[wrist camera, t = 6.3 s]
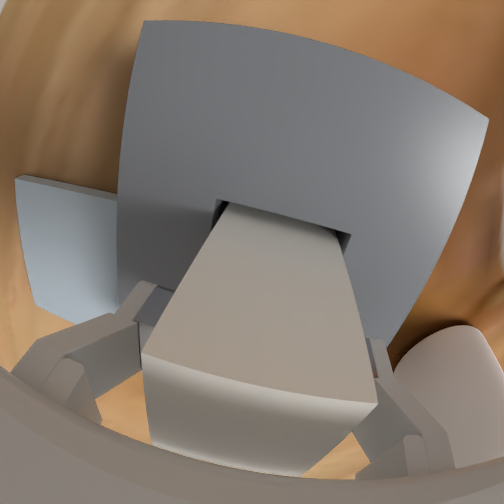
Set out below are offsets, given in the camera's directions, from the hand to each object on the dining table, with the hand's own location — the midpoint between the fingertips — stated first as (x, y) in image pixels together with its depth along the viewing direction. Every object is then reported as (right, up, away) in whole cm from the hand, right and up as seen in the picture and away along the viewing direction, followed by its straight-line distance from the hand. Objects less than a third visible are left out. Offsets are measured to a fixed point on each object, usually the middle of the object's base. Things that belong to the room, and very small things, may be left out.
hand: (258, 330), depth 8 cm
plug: (+1, +3, +6) cm, 7 cm away
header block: (+1, +4, +7) cm, 8 cm away
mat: (-12, +2, +10) cm, 16 cm away
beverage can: (+14, -6, +10) cm, 18 cm away
